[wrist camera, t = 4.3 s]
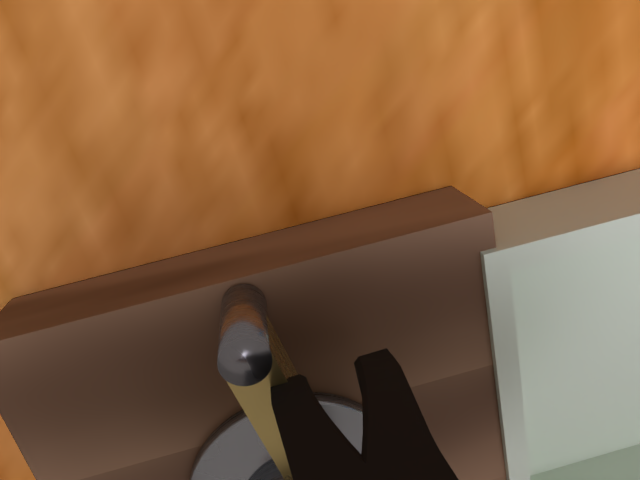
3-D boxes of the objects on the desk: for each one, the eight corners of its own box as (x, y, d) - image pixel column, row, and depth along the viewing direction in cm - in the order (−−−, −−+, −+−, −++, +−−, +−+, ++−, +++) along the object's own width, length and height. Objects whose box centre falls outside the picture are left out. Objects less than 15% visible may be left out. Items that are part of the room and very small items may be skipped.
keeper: (323, 409, 13) (340, 483, 11) (286, 425, 13) (296, 502, 11) (254, 276, 12) (258, 330, 9) (213, 295, 12) (207, 352, 9)
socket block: (493, 506, 19) (530, 571, 16) (160, 604, 18) (148, 686, 16) (451, 186, 14) (492, 212, 12) (12, 298, 14) (-35, 349, 11)
